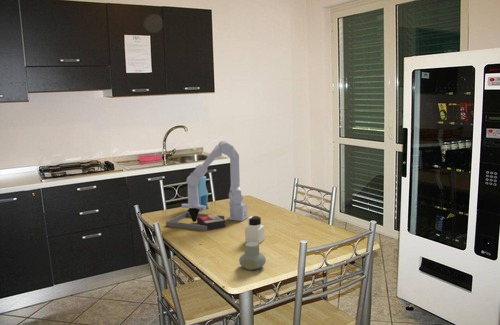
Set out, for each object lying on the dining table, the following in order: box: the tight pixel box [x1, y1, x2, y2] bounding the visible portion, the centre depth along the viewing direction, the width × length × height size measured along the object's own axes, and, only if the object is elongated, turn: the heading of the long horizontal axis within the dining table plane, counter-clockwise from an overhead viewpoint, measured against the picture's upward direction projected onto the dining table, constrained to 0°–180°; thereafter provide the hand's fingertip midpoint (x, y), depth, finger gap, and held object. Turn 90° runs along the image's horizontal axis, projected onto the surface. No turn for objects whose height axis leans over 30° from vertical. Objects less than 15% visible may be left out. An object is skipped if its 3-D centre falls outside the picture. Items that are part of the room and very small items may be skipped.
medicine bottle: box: [244, 215, 265, 245], centre depth 220 cm, size 7×7×12 cm
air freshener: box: [238, 242, 267, 271], centre depth 189 cm, size 11×8×10 cm
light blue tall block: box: [198, 175, 210, 213], centre depth 278 cm, size 8×8×20 cm
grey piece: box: [165, 211, 225, 232], centre depth 252 cm, size 25×20×2 cm
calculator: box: [196, 213, 226, 231], centre depth 248 cm, size 11×4×15 cm
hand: (194, 221), depth 252 cm, fingers closed
